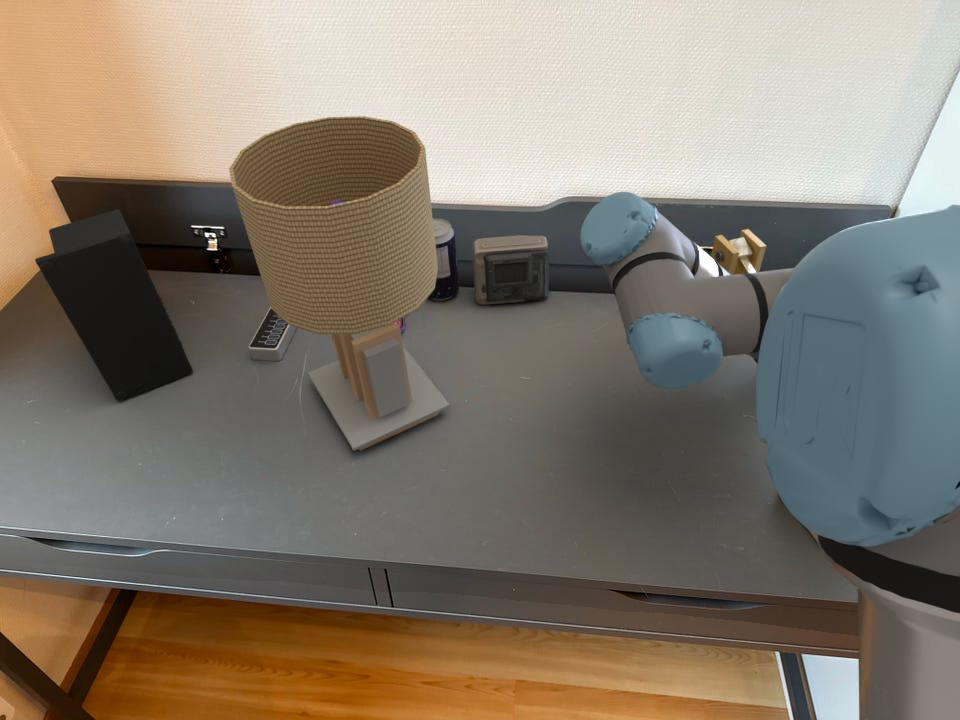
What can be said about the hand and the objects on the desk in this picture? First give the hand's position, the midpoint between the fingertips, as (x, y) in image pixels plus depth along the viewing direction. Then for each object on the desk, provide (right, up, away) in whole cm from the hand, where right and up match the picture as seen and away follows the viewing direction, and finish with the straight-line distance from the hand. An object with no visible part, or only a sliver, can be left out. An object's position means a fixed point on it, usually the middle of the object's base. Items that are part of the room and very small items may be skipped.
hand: (784, 360), depth 92 cm
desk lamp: (-53, -6, +3) cm, 54 cm away
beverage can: (-46, +11, +20) cm, 51 cm away
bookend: (-91, +2, +14) cm, 92 cm away
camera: (-35, +10, +18) cm, 40 cm away
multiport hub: (-70, +5, +15) cm, 71 cm away
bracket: (-4, +6, +11) cm, 14 cm away
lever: (-3, +8, +1) cm, 9 cm away
